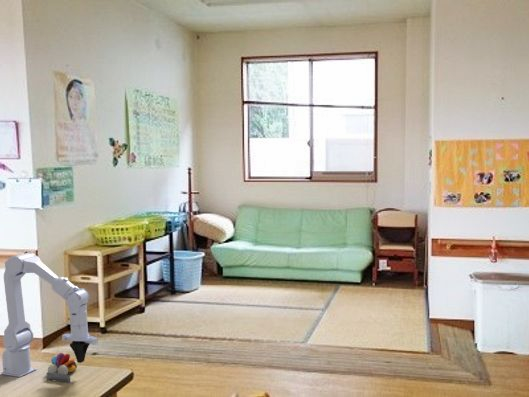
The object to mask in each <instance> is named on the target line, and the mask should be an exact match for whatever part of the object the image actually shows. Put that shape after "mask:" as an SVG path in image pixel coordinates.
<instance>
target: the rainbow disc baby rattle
mask: <svg viewBox="0 0 529 397" xmlns="http://www.w3.org/2000/svg"><path fill="white" fill-rule="evenodd" d="M77 368H78V362H77V360H75V359H74V358H72V359H71V355H70V354H69V353H65V354H64V353H62V352H59V353H58V354H57V355H56V356H52V358H51V364H50V365H49V366H48V369H47V372H53V373H59V374H65V375H69V373H70V372H71V373H72V372H74V371H76V370H77Z"/></svg>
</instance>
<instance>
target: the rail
mask: <svg viewBox="0 0 529 397" xmlns="http://www.w3.org/2000/svg"><path fill="white" fill-rule="evenodd" d="M47 379H49V380H48V381H53V380H55V381H54V382H60V383H66V384H70V383H71V375H70V374H67V375H65V374H59V373H53V372H48V371H47V372H46V380H47Z"/></svg>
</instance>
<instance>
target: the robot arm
mask: <svg viewBox="0 0 529 397" xmlns="http://www.w3.org/2000/svg"><path fill="white" fill-rule="evenodd" d="M4 266H5V270H4V273H3V284H4V293H5V294H4V295H5V302H6V310H7V320H8V325H6V327H5V329H4V331H3V333H4V336H3V339H2V345H3V347H4V351H3V352H2V356H1V359H2V360H1V361H2V372H1V373H0V374H1V375H5V376H10V377H11V376H12V377H19V378H20V377H21V378H22V377H23V376H25V375H28V374H30V373H33V372H34V371H36V370H37V368H36V367H32V364H31V350H30V348H31V347H30V346H31V343H32V342H33V341H34V340H33V339H34V333H33V331H32V329H31V324H30V323H29V322H28V321H26V318H25V317H26V316H25V310H24V309H25V307H24V298H23V291H22V281H21V280H22V278H23V277H25V275H26V274H35V275H37V276H38V277H39V278H41V279H42V280H44V281H45V282H47V283H49V284H50V285H51V290H52V291H54V292H55V293H56V294H57V295H59V296H60V297H61V298H62V299H64V300H65V303H66V304H65V305H66V306H67V307H68V311H69V316H70V317H69V318H70V322H69V324H70V333H64V334H62V335H61V336H62V337H61V340H62V341H64V342H65V341H70V342H71V343H69V347H70V348H71V349H72V351H73V353H74V356H75V359H76V362H77V364H78V363H79V364H81V363H83V362H85V360H86V359H85V358H86V353H87V351H88V349H89V346H90V344H92V345H97V344H98V343H99V340H98V337H95V336H93V335H90V333H89V328H88V327H89V326H88V307H87V304H88V303H89V302H90V293H89V292H88V291H87V290H86V288H79V287H78V286H77V285H74V283H72V282H71V281H69V278H68V277H64V276H58V275H57V274H55V273H54V272H53V271H52V270H51V269H50V268H49V267H48V266H47V265H46V264H44V262H42V260H41V258H40V257H39V256H38V255H36V254H35V253H33V252H32V251H29V252H25V253H22V254H17V255H12V256H10V257H9V258H7V260H6V261H4Z"/></svg>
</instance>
